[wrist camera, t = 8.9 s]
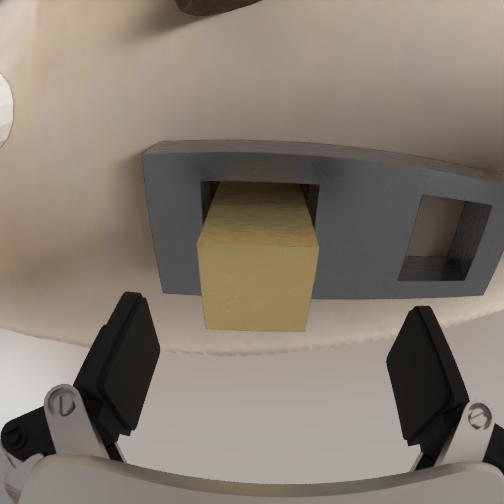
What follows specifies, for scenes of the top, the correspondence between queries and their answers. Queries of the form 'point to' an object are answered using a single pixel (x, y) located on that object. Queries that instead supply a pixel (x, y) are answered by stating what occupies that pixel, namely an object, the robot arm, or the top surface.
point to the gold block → (257, 258)
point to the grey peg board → (333, 214)
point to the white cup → (5, 110)
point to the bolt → (211, 6)
